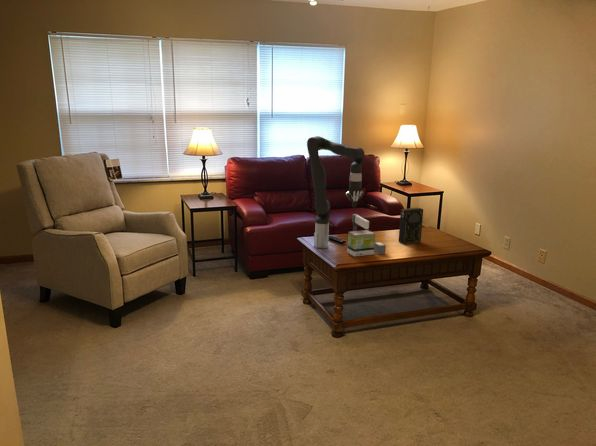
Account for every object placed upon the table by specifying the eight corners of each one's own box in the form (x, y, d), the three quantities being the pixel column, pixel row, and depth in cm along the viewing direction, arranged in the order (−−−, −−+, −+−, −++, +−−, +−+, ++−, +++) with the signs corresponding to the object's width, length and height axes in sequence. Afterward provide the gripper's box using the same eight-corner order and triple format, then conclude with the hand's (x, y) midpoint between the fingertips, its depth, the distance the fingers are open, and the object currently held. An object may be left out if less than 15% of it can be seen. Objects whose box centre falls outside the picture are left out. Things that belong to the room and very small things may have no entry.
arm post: (351, 250, 313) (352, 223, 309) (348, 247, 319) (349, 221, 314) (359, 249, 315) (361, 223, 310) (356, 247, 321) (357, 221, 316)
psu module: (378, 254, 305) (378, 245, 304) (373, 251, 313) (373, 242, 311) (385, 254, 307) (385, 245, 305) (379, 250, 314) (380, 241, 312)
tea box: (354, 257, 299) (355, 235, 296) (346, 252, 308) (347, 231, 305) (374, 254, 305) (375, 233, 302) (366, 250, 314) (367, 229, 311)
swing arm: (364, 229, 294) (364, 221, 293) (351, 221, 314) (351, 214, 312) (370, 228, 295) (370, 221, 294) (356, 221, 315) (357, 213, 313)
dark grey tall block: (403, 245, 327) (406, 210, 320) (396, 241, 334) (399, 208, 328) (422, 243, 333) (424, 209, 326) (414, 239, 340) (417, 206, 334)
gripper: (348, 181, 285) (346, 208, 290) (367, 180, 289) (366, 207, 293) (343, 179, 292) (342, 206, 296) (362, 178, 296) (361, 205, 300)
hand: (354, 206), depth 295 cm, fingers closed
